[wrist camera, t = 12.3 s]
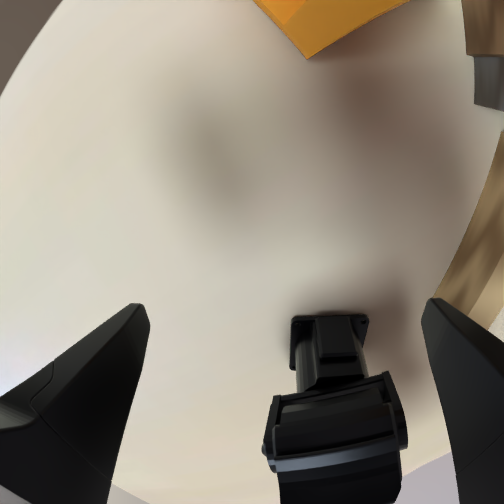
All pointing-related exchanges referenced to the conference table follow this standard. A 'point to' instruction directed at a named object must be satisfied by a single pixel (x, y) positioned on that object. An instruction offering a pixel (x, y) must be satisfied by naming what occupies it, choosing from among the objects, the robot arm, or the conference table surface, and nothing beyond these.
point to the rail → (481, 254)
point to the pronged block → (486, 49)
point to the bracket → (322, 19)
